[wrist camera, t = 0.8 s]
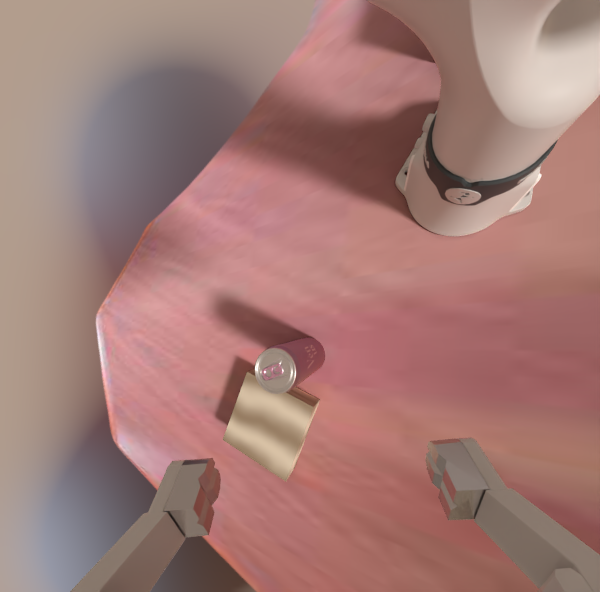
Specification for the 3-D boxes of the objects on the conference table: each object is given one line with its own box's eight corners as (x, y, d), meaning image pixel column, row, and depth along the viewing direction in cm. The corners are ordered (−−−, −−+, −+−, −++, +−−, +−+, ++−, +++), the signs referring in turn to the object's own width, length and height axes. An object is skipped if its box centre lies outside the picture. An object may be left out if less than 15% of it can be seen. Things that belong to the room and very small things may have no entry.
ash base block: (257, 367, 49) (247, 371, 45) (319, 399, 45) (313, 407, 41) (235, 430, 49) (222, 439, 46) (294, 467, 45) (286, 481, 41)
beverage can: (289, 344, 47) (246, 356, 33) (318, 332, 46) (286, 339, 31) (301, 375, 46) (262, 402, 32) (331, 364, 44) (304, 387, 30)
